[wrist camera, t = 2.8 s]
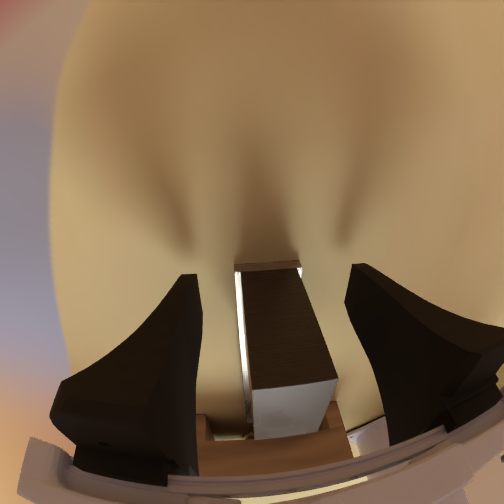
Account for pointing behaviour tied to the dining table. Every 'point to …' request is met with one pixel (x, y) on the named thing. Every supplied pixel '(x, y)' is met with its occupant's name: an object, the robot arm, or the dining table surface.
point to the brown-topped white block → (281, 351)
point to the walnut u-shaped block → (273, 449)
